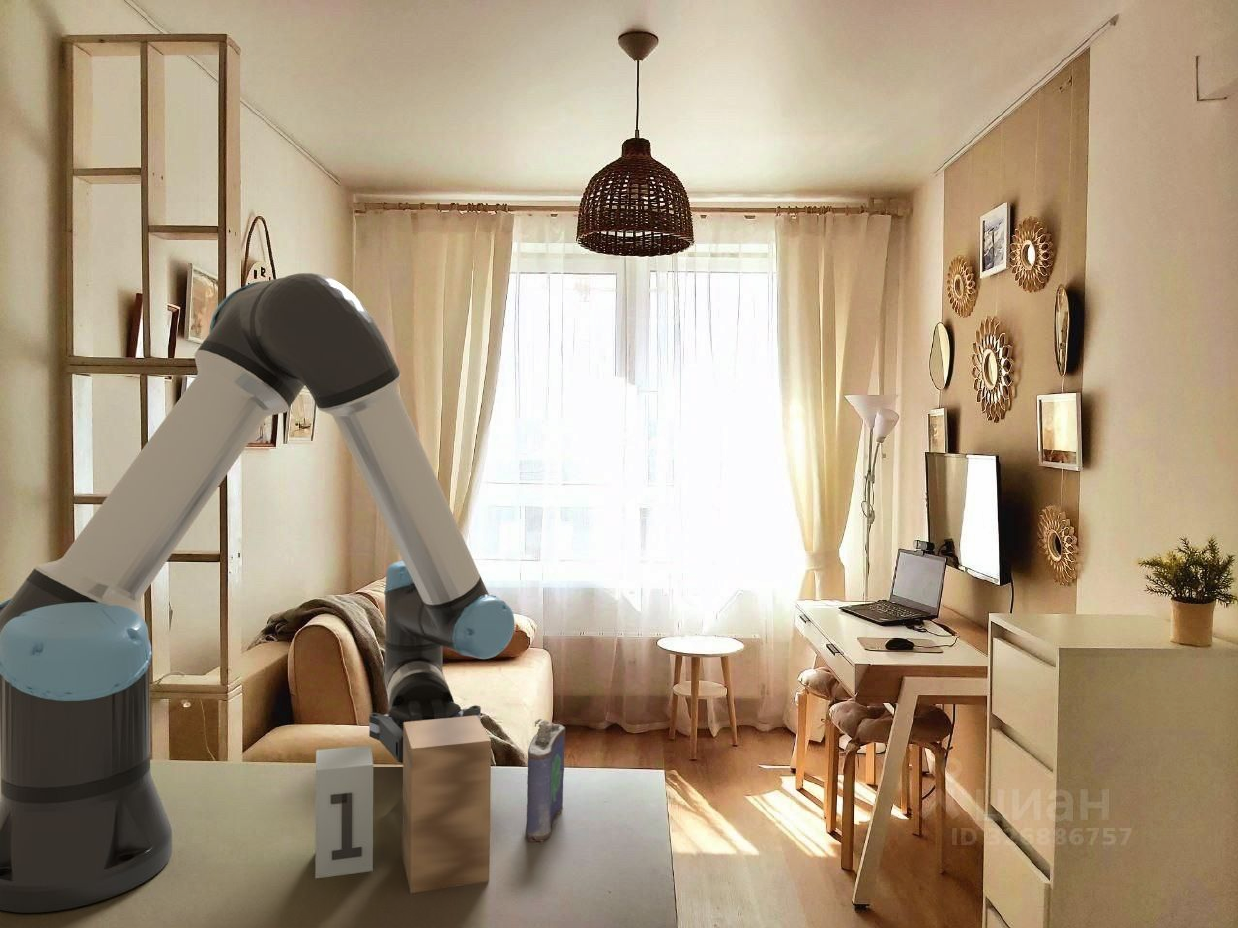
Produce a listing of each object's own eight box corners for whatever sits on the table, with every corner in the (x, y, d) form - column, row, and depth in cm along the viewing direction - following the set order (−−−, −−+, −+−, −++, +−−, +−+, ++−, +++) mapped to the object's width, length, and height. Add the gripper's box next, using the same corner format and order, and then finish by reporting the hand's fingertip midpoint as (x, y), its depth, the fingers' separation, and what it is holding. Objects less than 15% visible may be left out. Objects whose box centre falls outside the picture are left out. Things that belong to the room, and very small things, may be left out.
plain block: (410, 892, 79) (411, 748, 79) (402, 855, 86) (403, 722, 85) (489, 880, 82) (491, 740, 81) (475, 845, 88) (476, 715, 87)
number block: (315, 879, 81) (315, 771, 81) (316, 852, 86) (316, 750, 86) (372, 871, 83) (373, 765, 82) (370, 845, 88) (370, 745, 87)
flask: (547, 843, 89) (548, 737, 88) (518, 840, 89) (519, 735, 89) (566, 804, 98) (567, 707, 97) (540, 801, 98) (541, 705, 98)
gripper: (472, 726, 113) (506, 805, 91) (365, 735, 109) (372, 820, 87) (473, 667, 113) (507, 732, 90) (365, 674, 109) (373, 744, 86)
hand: (441, 775), depth 89 cm, fingers closed
